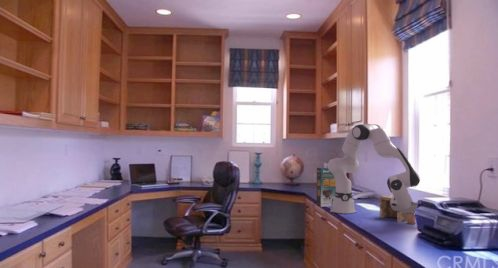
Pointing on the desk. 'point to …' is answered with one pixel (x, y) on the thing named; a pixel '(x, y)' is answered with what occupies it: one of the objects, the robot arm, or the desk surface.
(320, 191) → the cake mix box
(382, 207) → the wooden shelf
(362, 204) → the desk surface
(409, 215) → the peach rounded capsule
